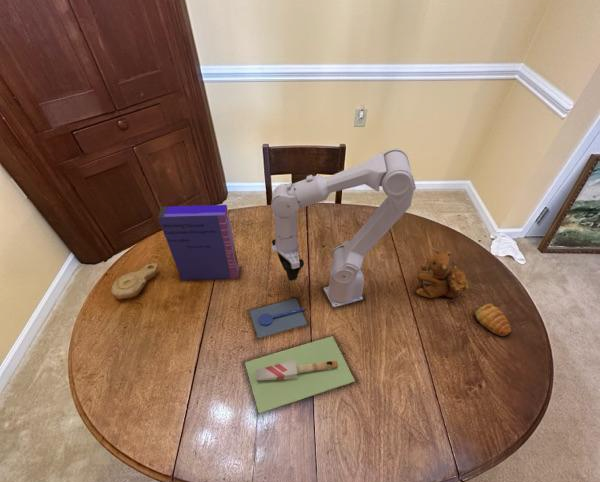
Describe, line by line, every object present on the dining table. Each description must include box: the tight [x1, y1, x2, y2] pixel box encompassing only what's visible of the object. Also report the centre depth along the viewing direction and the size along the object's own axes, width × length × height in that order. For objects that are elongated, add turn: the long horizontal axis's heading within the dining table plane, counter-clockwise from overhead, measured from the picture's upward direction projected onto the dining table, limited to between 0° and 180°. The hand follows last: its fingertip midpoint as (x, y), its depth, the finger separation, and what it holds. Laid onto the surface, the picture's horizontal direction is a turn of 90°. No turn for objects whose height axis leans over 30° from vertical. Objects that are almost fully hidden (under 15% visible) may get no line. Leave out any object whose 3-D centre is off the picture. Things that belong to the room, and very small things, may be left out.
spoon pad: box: [249, 298, 308, 339], centre depth 98 cm, size 14×10×1 cm
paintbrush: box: [256, 360, 338, 380], centre depth 85 cm, size 4×3×20 cm
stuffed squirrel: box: [415, 251, 470, 299], centre depth 100 cm, size 10×14×13 cm
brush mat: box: [244, 335, 356, 415], centre depth 86 cm, size 24×14×1 cm, turn 109°
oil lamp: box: [111, 263, 159, 300], centre depth 105 cm, size 11×14×5 cm
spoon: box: [258, 306, 306, 326], centre depth 98 cm, size 14×4×1 cm, turn 109°
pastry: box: [474, 303, 512, 337], centre depth 94 cm, size 9×7×4 cm
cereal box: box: [157, 204, 240, 281], centre depth 102 cm, size 17×5×24 cm, turn 92°
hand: (288, 270), depth 98 cm, fingers open, 7 cm apart
